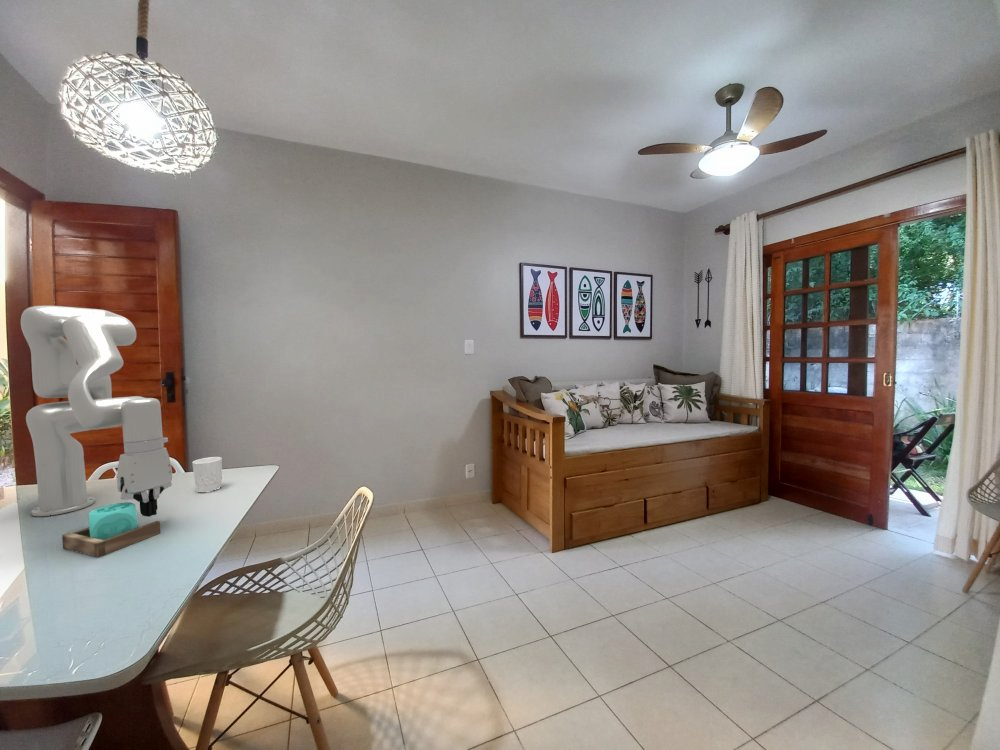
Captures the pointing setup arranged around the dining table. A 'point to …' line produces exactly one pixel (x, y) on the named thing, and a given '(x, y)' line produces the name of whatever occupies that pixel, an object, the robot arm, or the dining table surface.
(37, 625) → the dining table surface
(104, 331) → the robot arm
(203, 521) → the dining table surface
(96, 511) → the decorative dice
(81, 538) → the corral
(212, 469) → the white cup
